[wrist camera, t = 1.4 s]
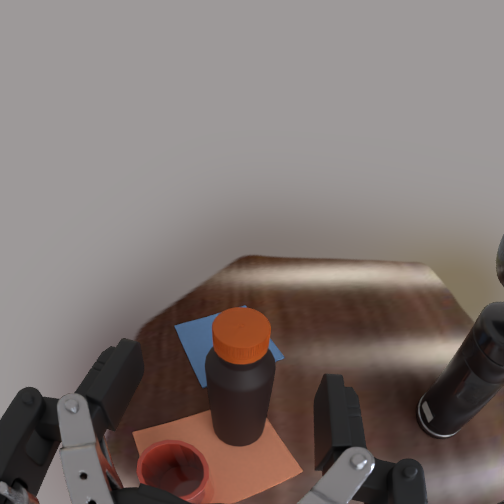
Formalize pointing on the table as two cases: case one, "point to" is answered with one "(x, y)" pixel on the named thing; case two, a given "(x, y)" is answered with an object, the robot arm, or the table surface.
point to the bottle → (239, 375)
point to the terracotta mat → (228, 456)
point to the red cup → (177, 471)
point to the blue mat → (205, 344)
